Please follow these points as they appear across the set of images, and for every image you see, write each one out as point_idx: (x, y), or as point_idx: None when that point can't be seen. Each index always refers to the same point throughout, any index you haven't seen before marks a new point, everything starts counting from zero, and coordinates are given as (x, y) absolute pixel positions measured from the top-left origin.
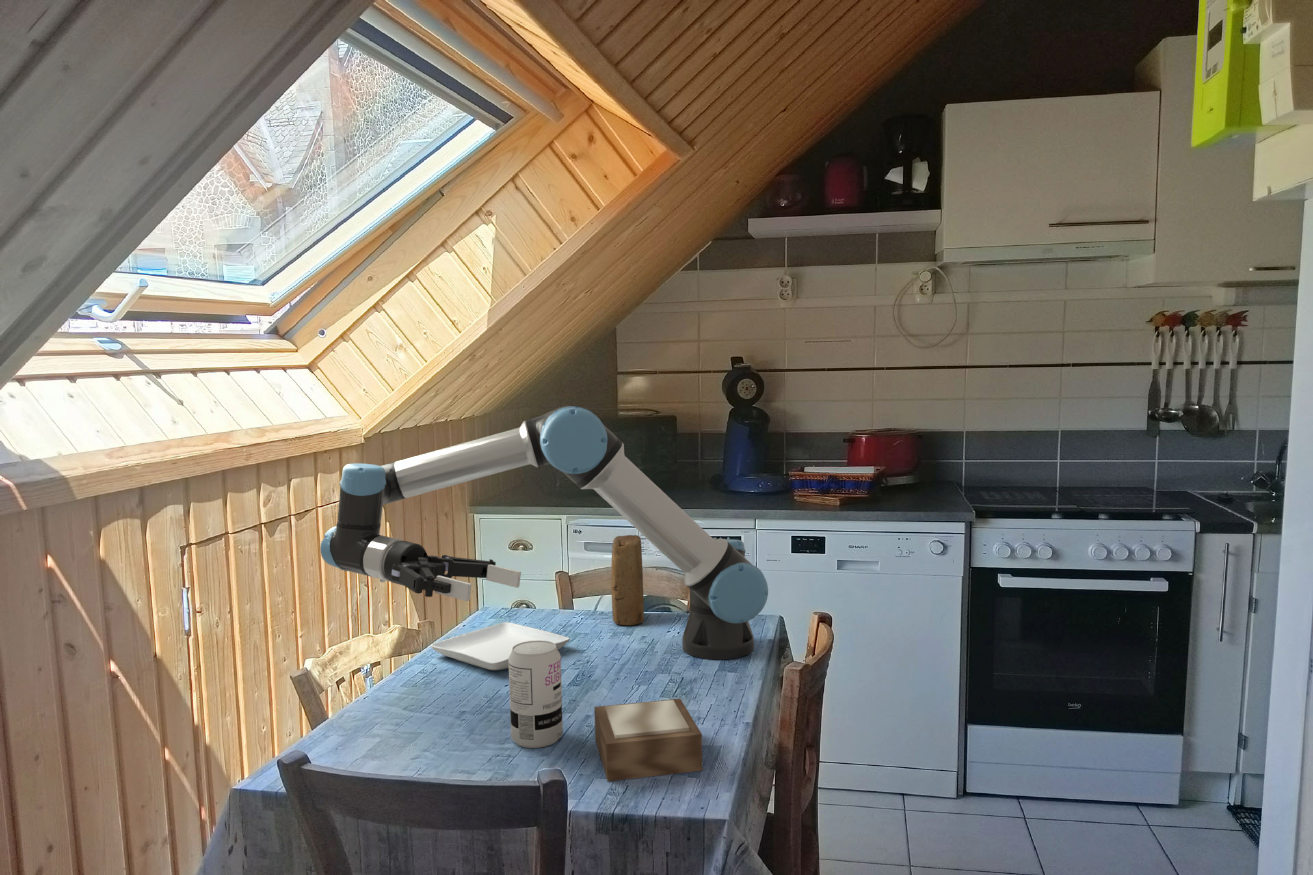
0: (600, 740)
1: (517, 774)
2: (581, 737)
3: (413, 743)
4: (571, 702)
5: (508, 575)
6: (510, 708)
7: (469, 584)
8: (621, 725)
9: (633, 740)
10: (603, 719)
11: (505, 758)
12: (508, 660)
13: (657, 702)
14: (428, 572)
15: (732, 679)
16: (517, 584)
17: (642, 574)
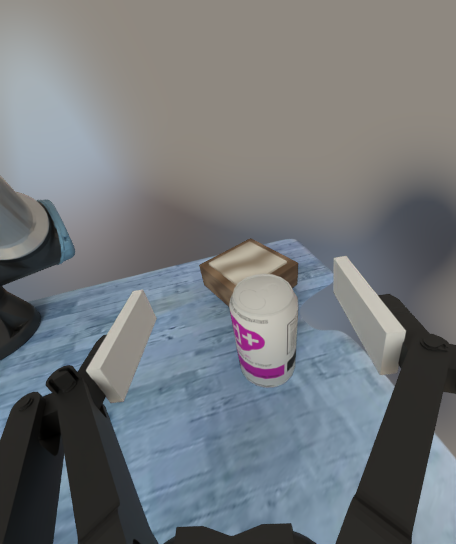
0: None
1: (335, 335)
2: None
3: None
4: (167, 388)
5: (139, 319)
6: (288, 360)
7: (341, 258)
8: (269, 265)
9: (282, 255)
10: None
11: (320, 363)
12: (286, 324)
13: (217, 267)
14: (409, 403)
15: (94, 297)
16: (153, 313)
17: None
